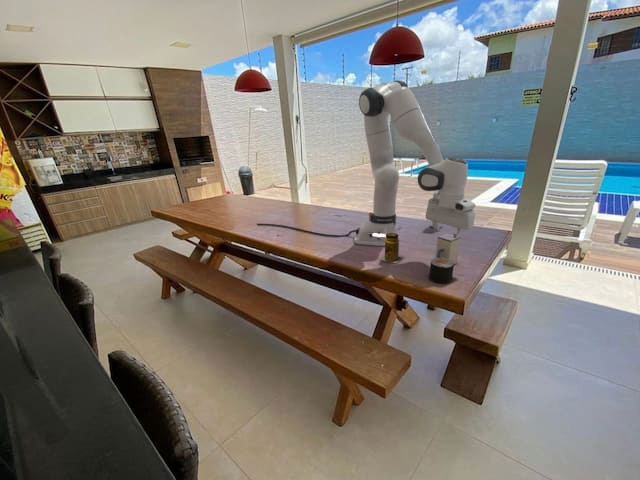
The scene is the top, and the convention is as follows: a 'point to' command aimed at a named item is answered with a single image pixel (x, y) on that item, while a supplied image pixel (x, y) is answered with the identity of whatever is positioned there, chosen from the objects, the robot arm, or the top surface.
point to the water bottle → (436, 195)
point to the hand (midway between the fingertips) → (446, 234)
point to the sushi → (441, 270)
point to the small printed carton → (448, 247)
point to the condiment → (392, 248)
